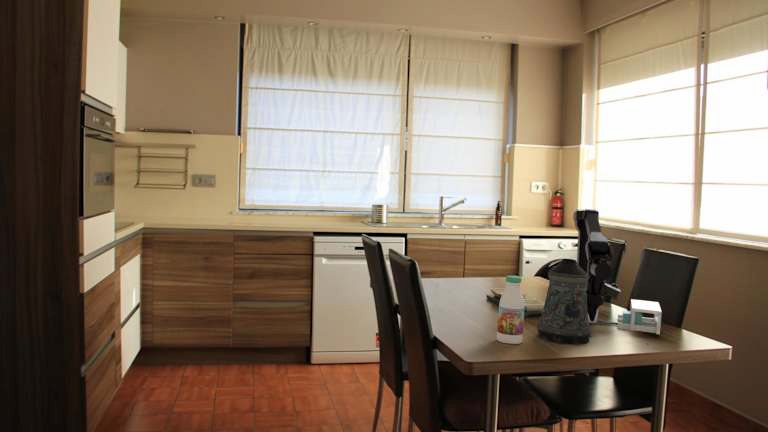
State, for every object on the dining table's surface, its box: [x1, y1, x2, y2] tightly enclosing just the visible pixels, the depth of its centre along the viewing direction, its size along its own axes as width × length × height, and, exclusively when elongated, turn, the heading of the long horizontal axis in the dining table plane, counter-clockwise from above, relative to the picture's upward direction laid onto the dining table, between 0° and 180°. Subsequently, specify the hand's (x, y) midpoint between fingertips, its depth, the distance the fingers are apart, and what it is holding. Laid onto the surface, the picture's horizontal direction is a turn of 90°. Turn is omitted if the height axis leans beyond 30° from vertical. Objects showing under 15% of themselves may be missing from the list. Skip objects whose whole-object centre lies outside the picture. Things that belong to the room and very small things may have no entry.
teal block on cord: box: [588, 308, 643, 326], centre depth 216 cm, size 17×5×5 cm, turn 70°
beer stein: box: [536, 258, 592, 346], centre depth 201 cm, size 16×19×25 cm
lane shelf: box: [617, 298, 663, 335], centre depth 218 cm, size 21×18×9 cm
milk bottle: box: [496, 275, 526, 345], centre depth 192 cm, size 8×8×20 cm
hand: (592, 320), depth 219 cm, fingers closed on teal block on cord, 3 cm apart
